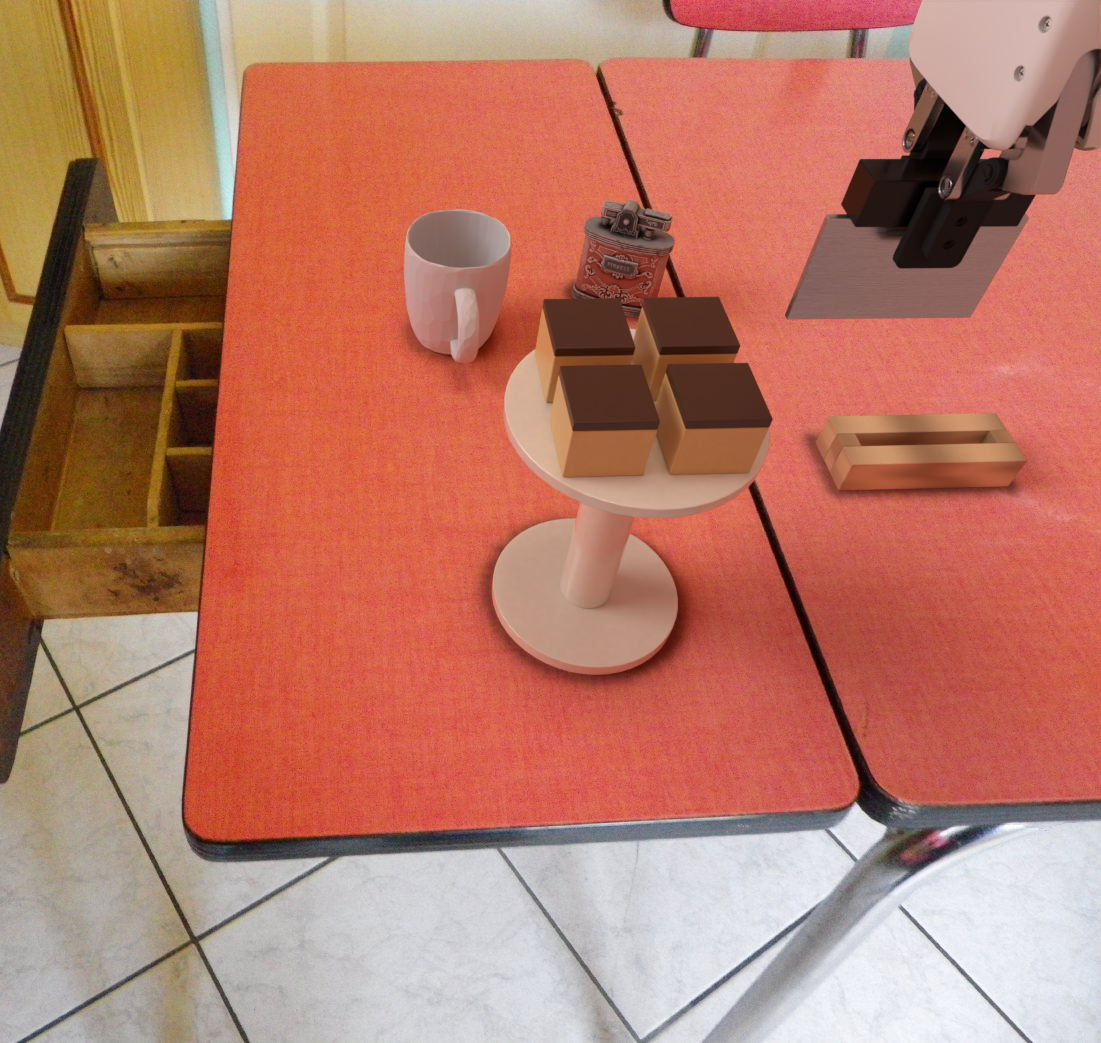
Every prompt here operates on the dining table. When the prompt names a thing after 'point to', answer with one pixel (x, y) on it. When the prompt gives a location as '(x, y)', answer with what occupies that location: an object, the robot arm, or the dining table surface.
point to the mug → (455, 279)
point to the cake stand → (594, 549)
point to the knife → (872, 237)
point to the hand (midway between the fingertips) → (913, 245)
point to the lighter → (624, 255)
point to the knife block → (919, 451)
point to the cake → (648, 387)
